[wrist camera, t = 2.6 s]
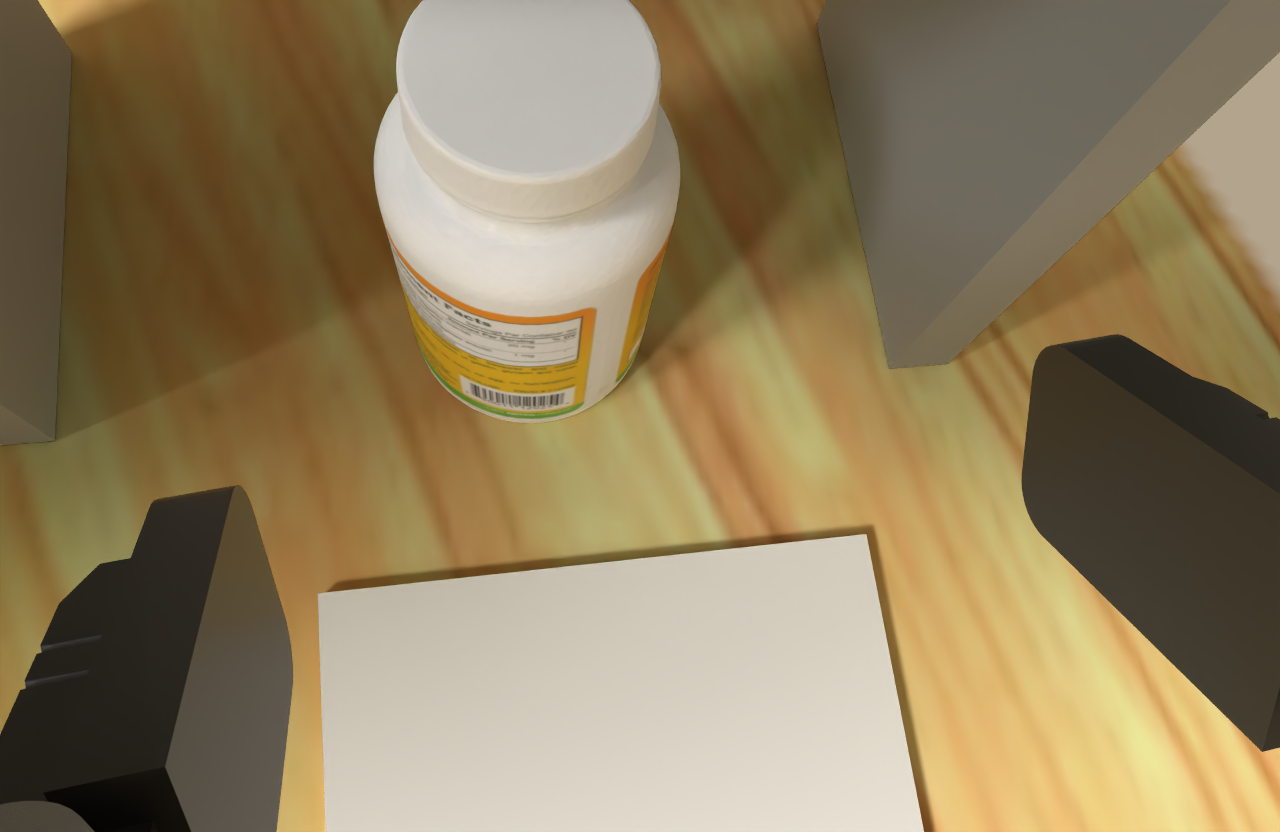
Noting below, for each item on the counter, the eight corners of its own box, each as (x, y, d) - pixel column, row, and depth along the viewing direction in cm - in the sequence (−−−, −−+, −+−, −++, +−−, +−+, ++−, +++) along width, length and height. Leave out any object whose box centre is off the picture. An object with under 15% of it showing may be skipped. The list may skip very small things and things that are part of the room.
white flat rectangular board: (339, 1136, 19) (336, 1144, 19) (321, 596, 22) (317, 593, 22) (955, 1027, 21) (963, 1032, 20) (860, 537, 24) (866, 533, 23)
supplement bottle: (556, 181, 26) (572, -136, 17) (687, 347, 25) (781, 108, 16) (369, 292, 25) (273, 13, 15) (499, 473, 23) (480, 291, 14)
